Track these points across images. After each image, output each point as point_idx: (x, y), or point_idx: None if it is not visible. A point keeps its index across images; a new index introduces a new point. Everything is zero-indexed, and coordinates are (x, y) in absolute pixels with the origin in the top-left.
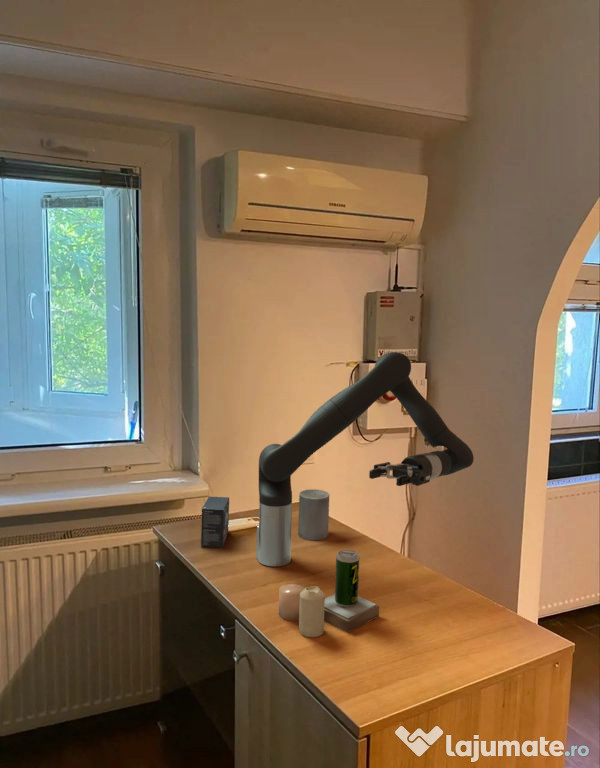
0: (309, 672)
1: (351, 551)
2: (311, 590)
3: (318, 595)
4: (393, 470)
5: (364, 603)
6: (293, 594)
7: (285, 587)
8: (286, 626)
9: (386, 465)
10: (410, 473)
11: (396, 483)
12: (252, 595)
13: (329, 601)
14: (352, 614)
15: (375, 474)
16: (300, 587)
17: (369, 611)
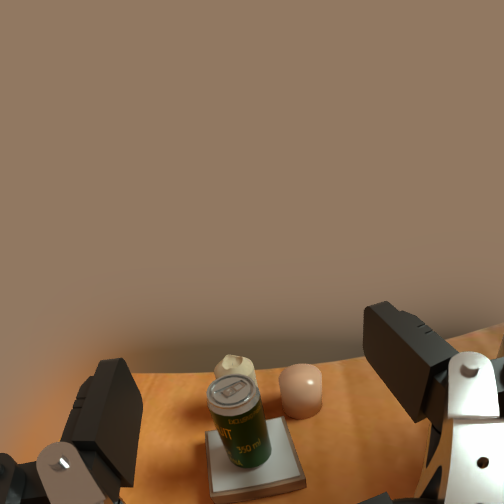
0: (178, 375)
1: (237, 400)
2: (237, 365)
3: (217, 367)
4: (396, 500)
5: (229, 477)
6: (283, 374)
7: (312, 372)
8: (273, 390)
9: (499, 417)
10: (67, 491)
11: (137, 388)
12: (379, 376)
13: (272, 435)
14: (212, 442)
15: (385, 358)
16: (301, 388)
17: (208, 474)
